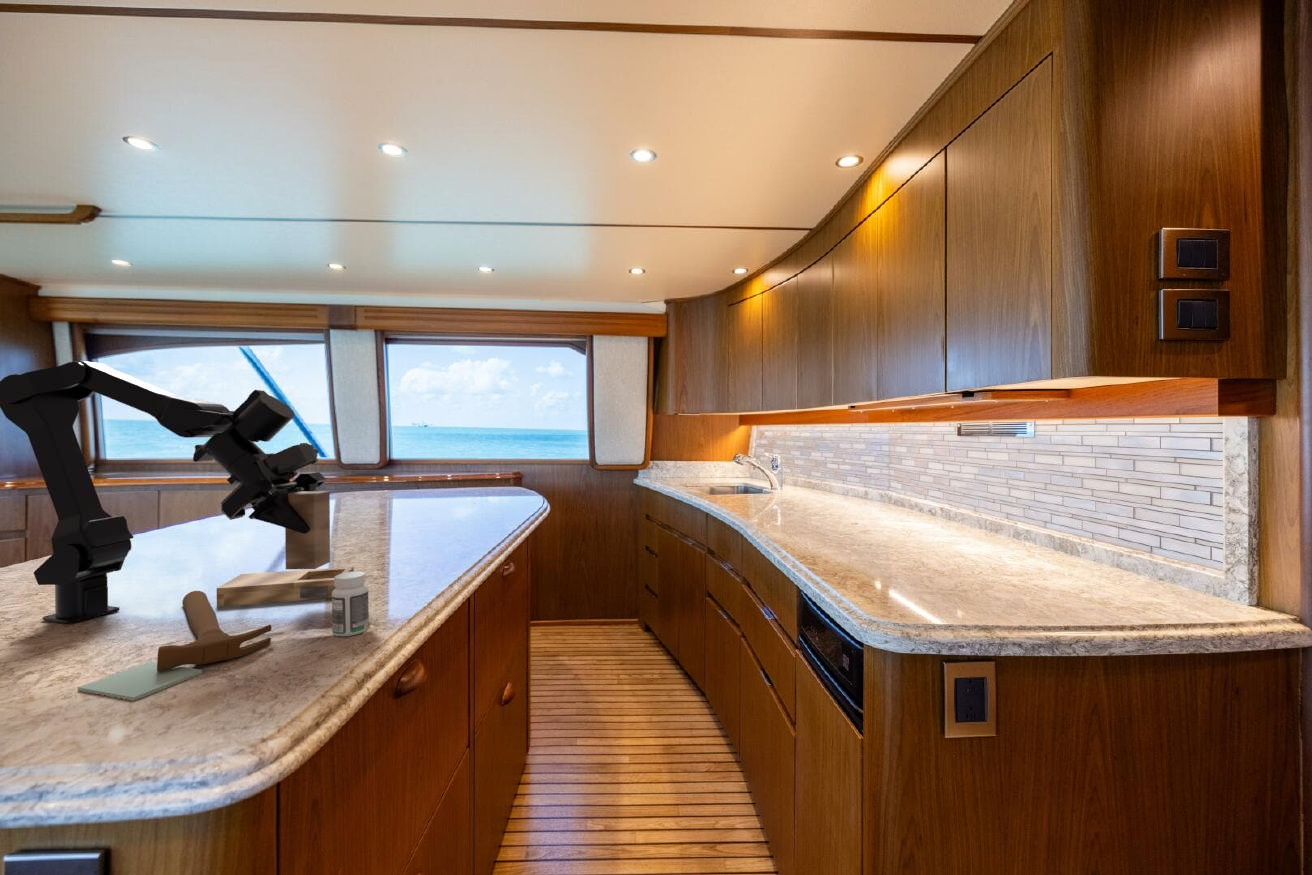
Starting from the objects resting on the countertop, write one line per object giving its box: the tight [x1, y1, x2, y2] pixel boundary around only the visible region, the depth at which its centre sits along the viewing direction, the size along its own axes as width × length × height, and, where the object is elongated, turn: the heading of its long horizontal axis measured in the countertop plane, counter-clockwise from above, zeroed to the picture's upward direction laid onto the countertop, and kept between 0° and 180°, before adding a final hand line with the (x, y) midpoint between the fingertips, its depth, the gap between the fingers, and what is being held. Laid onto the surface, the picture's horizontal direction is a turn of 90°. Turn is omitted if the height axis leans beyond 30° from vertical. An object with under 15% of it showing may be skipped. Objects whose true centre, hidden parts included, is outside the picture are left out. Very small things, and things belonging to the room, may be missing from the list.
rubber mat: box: [77, 661, 203, 702], centre depth 64 cm, size 9×7×1 cm
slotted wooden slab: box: [216, 566, 355, 608], centre depth 94 cm, size 18×9×4 cm, turn 107°
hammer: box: [156, 590, 273, 672], centre depth 79 cm, size 12×3×30 cm
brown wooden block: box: [284, 490, 331, 570], centre depth 88 cm, size 4×4×12 cm
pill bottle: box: [331, 571, 370, 637], centre depth 79 cm, size 5×5×8 cm
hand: (316, 528), depth 88 cm, fingers closed on brown wooden block, 4 cm apart
